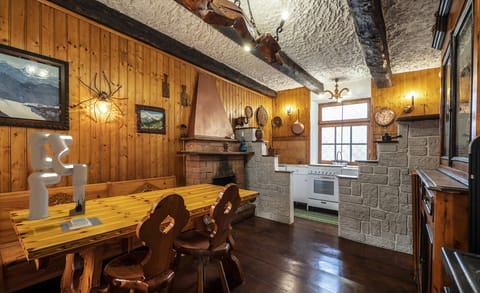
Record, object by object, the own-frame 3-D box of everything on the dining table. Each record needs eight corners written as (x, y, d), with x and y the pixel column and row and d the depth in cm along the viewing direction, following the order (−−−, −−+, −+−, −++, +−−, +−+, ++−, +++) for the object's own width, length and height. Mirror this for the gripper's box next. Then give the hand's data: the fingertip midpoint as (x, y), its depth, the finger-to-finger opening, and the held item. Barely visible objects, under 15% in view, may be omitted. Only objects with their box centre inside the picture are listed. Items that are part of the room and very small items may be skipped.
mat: (59, 224, 134) (59, 223, 134) (96, 217, 148) (96, 216, 148) (62, 233, 120) (62, 231, 120) (103, 224, 134) (103, 223, 134)
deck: (70, 219, 134) (72, 223, 127) (85, 217, 140) (88, 220, 133) (70, 223, 134) (72, 227, 127) (85, 220, 140) (88, 224, 133)
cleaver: (69, 217, 147) (70, 191, 148) (69, 216, 151) (69, 190, 151) (85, 215, 153) (86, 190, 154) (84, 213, 157) (85, 189, 157)
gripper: (70, 182, 139) (69, 210, 139) (74, 185, 129) (73, 215, 128) (84, 181, 144) (83, 208, 144) (89, 183, 134) (88, 212, 133)
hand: (78, 211), depth 136 cm, fingers closed
